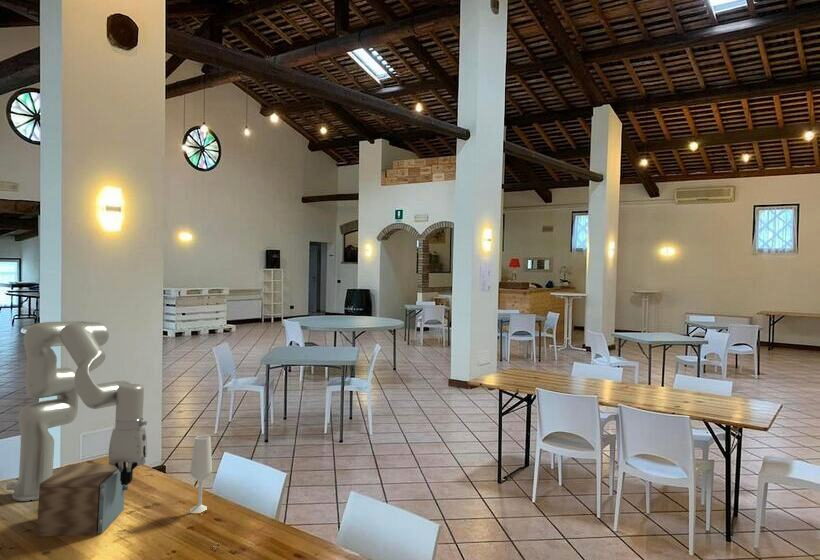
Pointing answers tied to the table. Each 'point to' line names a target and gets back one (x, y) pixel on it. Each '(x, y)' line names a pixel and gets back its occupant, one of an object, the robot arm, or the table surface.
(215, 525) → the table surface
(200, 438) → the champagne flute
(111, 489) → the cabinet door
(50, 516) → the walnut cabinet
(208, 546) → the table surface
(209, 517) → the table surface
